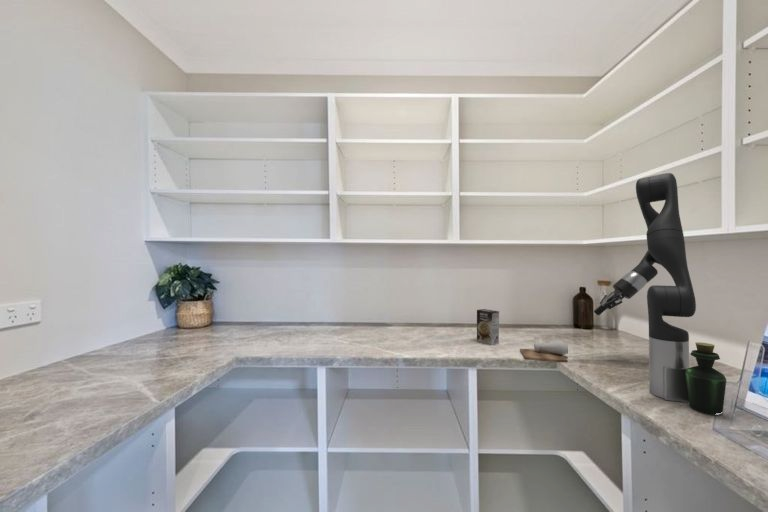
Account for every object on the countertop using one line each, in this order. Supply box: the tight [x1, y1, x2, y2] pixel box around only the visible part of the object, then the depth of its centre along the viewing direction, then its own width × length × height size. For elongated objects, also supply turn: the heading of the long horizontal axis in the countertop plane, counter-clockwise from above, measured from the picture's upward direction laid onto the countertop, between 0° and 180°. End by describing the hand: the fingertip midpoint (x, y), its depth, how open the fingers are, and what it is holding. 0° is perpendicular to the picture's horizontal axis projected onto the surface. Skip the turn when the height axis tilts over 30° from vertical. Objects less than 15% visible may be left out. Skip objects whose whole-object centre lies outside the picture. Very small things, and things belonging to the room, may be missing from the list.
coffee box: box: [476, 308, 500, 346], centre depth 163 cm, size 9×6×16 cm
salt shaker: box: [533, 340, 569, 356], centre depth 141 cm, size 6×6×13 cm
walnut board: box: [519, 348, 569, 363], centre depth 140 cm, size 16×14×1 cm
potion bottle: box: [685, 342, 727, 416], centre depth 90 cm, size 8×8×18 cm
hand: (595, 313), depth 135 cm, fingers closed
